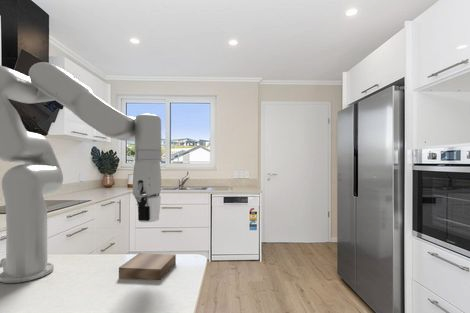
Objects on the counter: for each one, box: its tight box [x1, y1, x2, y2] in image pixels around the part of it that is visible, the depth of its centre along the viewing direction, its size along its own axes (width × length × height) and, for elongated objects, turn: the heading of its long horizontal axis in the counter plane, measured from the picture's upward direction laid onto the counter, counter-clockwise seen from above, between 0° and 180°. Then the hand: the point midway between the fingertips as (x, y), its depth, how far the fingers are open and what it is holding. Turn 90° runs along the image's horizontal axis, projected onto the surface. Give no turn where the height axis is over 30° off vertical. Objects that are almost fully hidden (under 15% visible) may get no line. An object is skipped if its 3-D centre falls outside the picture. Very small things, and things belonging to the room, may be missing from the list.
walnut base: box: [118, 252, 177, 281], centre depth 82 cm, size 12×12×3 cm
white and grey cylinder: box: [138, 195, 162, 223], centre depth 82 cm, size 7×7×7 cm
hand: (148, 217), depth 82 cm, fingers closed on white and grey cylinder, 5 cm apart
